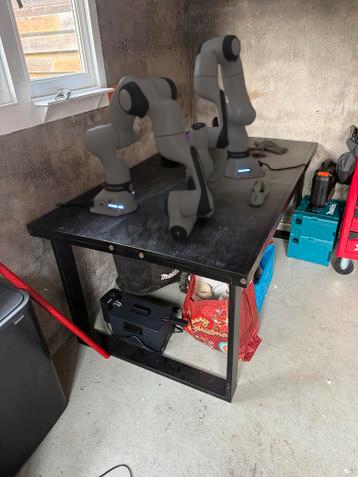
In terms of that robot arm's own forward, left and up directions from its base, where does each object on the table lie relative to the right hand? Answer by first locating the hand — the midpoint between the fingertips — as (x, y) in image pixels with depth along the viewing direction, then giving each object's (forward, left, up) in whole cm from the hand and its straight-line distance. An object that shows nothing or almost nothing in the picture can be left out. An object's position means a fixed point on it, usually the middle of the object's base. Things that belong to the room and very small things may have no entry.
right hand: (201, 186), depth 163 cm
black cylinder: (+5, +19, -5) cm, 20 cm away
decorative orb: (+2, -79, -5) cm, 79 cm away
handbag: (+13, -58, -5) cm, 60 cm away
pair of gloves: (-46, -72, -5) cm, 85 cm away
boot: (-20, -99, -5) cm, 101 cm away
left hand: (+5, +18, 0) cm, 18 cm away
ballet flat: (-27, +6, -5) cm, 29 cm away
